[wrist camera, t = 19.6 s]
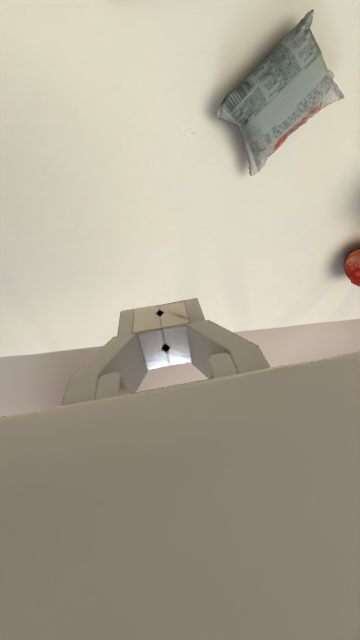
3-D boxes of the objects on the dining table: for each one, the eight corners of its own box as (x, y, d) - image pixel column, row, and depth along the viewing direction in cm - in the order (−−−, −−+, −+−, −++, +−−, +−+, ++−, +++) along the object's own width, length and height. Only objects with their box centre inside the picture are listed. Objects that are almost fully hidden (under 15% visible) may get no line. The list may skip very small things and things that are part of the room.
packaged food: (328, 101, 30) (356, 95, 26) (246, 175, 34) (260, 179, 30) (299, 15, 26) (328, -9, 22) (208, 110, 29) (219, 104, 25)
